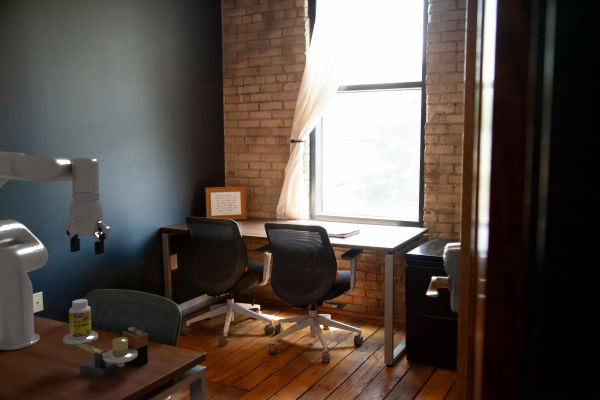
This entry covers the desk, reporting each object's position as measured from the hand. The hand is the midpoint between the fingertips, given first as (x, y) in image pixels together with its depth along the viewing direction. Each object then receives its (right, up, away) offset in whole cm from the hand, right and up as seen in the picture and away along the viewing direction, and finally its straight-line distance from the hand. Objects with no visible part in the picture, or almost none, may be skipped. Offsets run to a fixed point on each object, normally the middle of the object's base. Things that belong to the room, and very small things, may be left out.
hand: (87, 252), depth 148 cm
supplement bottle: (+4, -23, -13) cm, 26 cm away
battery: (+18, -32, -9) cm, 37 cm away
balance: (+10, -32, -15) cm, 36 cm away
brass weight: (+17, -26, -18) cm, 36 cm away
